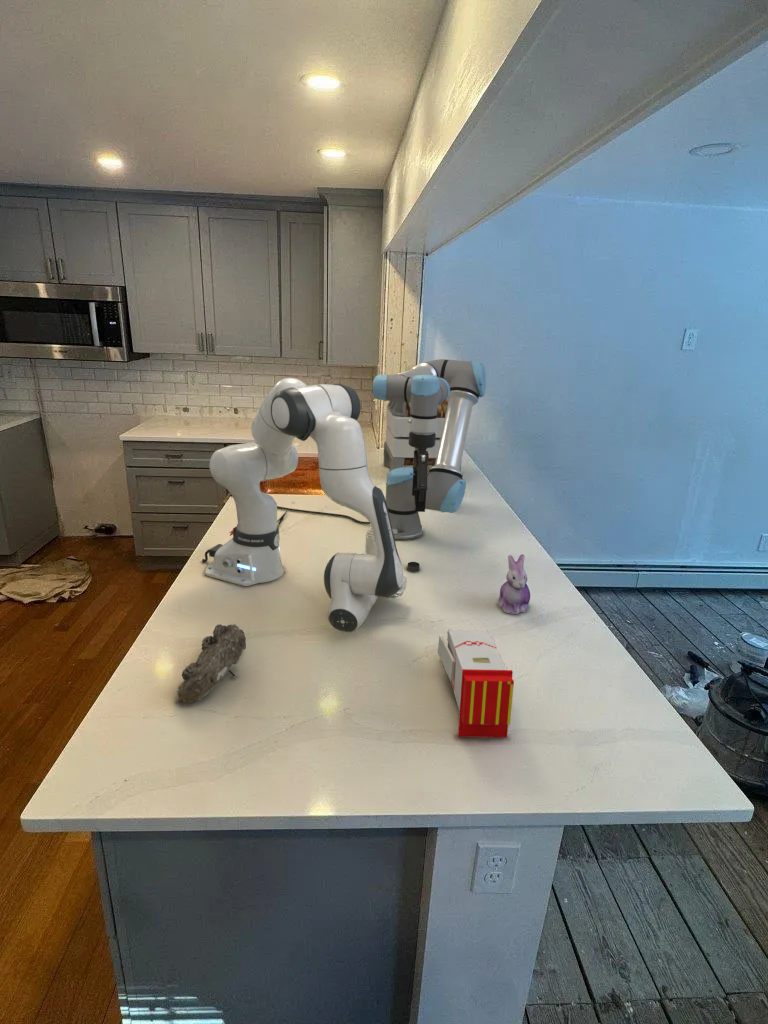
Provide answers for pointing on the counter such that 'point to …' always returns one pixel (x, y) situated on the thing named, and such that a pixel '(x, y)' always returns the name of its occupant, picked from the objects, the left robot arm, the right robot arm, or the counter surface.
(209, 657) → the fossil
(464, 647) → the toy
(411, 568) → the cap
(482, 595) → the counter surface
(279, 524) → the feather
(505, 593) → the figurine
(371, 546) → the bottle
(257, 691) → the counter surface
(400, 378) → the right robot arm
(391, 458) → the grey slatted crate
